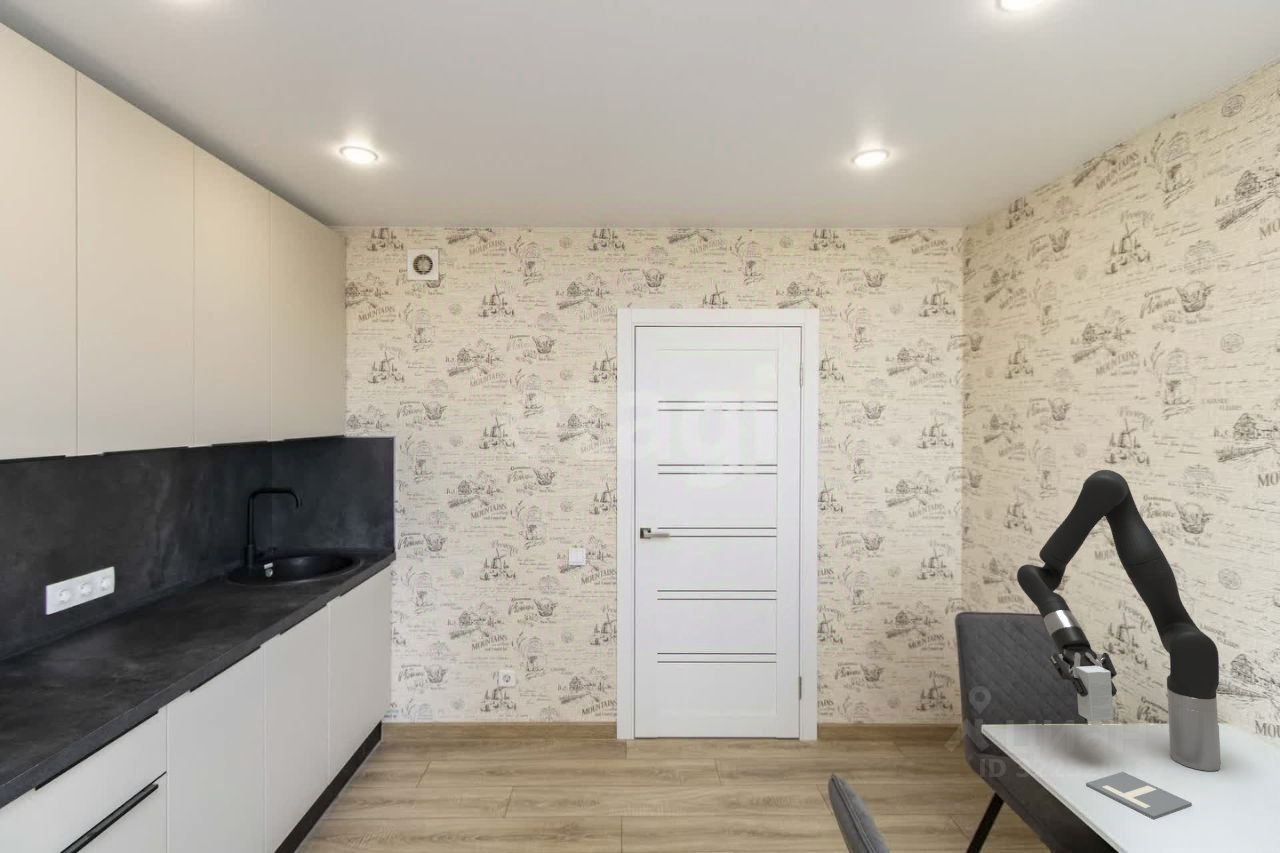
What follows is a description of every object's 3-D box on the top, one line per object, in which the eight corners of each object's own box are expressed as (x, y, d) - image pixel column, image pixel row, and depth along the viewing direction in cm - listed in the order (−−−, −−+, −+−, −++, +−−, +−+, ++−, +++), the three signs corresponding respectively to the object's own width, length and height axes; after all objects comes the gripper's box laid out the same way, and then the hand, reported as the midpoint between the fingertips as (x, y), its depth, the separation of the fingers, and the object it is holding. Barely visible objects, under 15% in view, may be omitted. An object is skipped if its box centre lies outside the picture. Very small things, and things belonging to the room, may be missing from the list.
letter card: (1123, 774, 148) (1122, 771, 148) (1191, 805, 135) (1191, 802, 135) (1086, 785, 144) (1085, 782, 144) (1153, 819, 130) (1153, 816, 131)
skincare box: (1100, 712, 155) (1098, 665, 155) (1114, 720, 151) (1111, 671, 151) (1077, 713, 155) (1074, 666, 155) (1090, 721, 151) (1087, 672, 151)
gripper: (1043, 625, 161) (1075, 689, 149) (1100, 624, 160) (1136, 688, 148) (1032, 639, 166) (1062, 701, 154) (1087, 638, 166) (1122, 701, 153)
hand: (1099, 695), depth 151 cm, fingers closed on skincare box, 6 cm apart
